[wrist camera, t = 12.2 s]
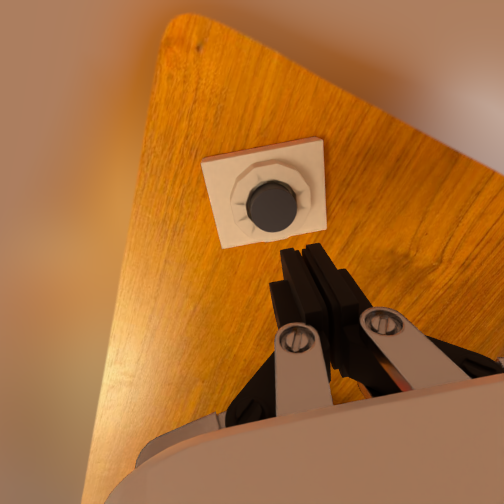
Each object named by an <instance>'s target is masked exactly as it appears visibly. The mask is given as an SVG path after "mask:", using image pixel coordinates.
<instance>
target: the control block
mask: <svg viewBox="0 0 504 504" xmlns="http://www.w3.org/2000/svg"><path fill="white" fill-rule="evenodd" d="M201 167H202V171H203V175H204V179H205V183H206V187H207V191H208V195H209V199H210V203H211V207H212V211H213V215H214V219H215V222H216V226H217V230H218V234H219V238H220V242H221V246H222V249H224V248H230V247H235V246H240V245H246V244H251V243H256V242H262V241H263V242H271V241H277V240H282V239H286V238H288V237H289V236H293V235H299V234H304V233H309V232H315V231H320V230H325V229H327V222H326V198H325V174H324V150H323V140H322V139H320V138H317V137H310V138H305V139H300V140H295V141H289V142H284V143H279V144H274V145H268V146H263V147H258V148H253V149H247V150H242V151H237V152H232V153H227V154H221V155H216V156H211V157H206V158H203V159H202V162H201ZM266 183H278V184H281V185H283V186H285V187H286V188H287V189H288V190H289V192H290V193H291V195H292V196H293V197H294V199H295V201H296V204H297V214H296V217H295V219H294V221H293V222H292V224H291V225H290V226H289V227H287V228H286V229H284V230H282V231H280V232H274V233H271V232H265V231H263V230H261V229H259V228H258V227H257V226H256V225H255V224H254V222H253V220H252V217H251V213H250V208H249V202H250V198H251V195H252V194H253V192H254V191H255V190H256V189H257V188H258V187H259V186H261V185H263V184H266Z"/></svg>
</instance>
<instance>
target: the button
mask: <svg viewBox="0 0 504 504" xmlns="http://www.w3.org/2000/svg"><path fill="white" fill-rule="evenodd" d="M249 208H250V213H251V217H252V220H253V222H254V224H255V225H256V226H257V227H258V228H259V229H261V230H263V231H265V232H271V233H274V232H280V231H282V230H284V229H286V228H287V227H289V226H290V225H291V224H292V222H293V221H294V219H295V217H296V214H297V204H296V201H295V199H294V197H293V196H292V195H291V193H290V192H289V190H288V189H287V188H286V187H285V186H283V185H281V184H278V183H266V184H263V185H261V186H259V187H258V188H257V189H256V190H255V191H254V192H253V194H252V195H251V198H250V202H249Z"/></svg>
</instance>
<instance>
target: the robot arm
mask: <svg viewBox="0 0 504 504" xmlns="http://www.w3.org/2000/svg"><path fill="white" fill-rule="evenodd" d="M280 254H281V262H282V270H283V277H284V280H282V281H276V282H271V283H269V286H270V292H271V298H272V303H273V309H274V313H275V318H276V322H277V326H278V331H277V333H276V335H275V340H274V342H275V351H274V352H273V353H272V354H271V356H270V357H269V358H268V359H267V360H266V362H265V363H264V364H263V365H262V366H261V368H260V369H259V370H258V371H257V372H256V374H255V375H254V376H253V377H252V378H251V380H250V381H249V382H248V383H247V384H246V386H245V387H244V388H243V389H242V390H241V392H240V393H239V394H238V395H237V396H236V398H235V399H234V400H233V401H232V402H231V404H230V406H229V407H228V409H227V410H226V411H224V412H222V413H220V414H216V412H213V413H211V414H209V415H207V416H204V417H202V418H200V419H197V420H195V421H193V422H191V423H188V424H186V425H184V426H182V427H179V428H177V429H175V430H172V431H170V432H168V433H166V434H163V435H161V436H159V437H156V438H155V439H153V440H152V441H150V442H149V443H148V444H147V445H146V446H145V447H144V448H143V449H142V450H141V452H140V454H139V456H138V458H137V460H136V466H135V470H133V471H132V472H131V473H130V474H129V475H127V476H126V477H125V478H124V479H123V480H122V481H121V482H120V483H119V484H118V485H117V486H116V487H115V488H114V490H113V491H112V492H111V493H110V495H109V497H108V498H107V500H106V501H105V503H104V504H504V357H497V359H496V361H493V360H492V359H490V358H488V357H486V356H483V355H481V354H478V353H476V352H473V351H470V350H467V349H464V348H461V347H458V346H455V345H452V344H450V343H447V342H444V341H441V340H438V339H435V338H432V337H429V336H426V335H424V334H423V333H422V332H421V331H419V330H418V329H417V328H416V327H415V326H414V325H413V324H412V323H411V322H410V321H409V320H408V319H407V318H405V317H404V316H403V315H402V314H401V313H399V312H398V311H396V310H393V309H391V308H387V307H373V306H372V305H371V303H370V302H369V300H368V299H367V298H366V296H365V295H364V293H363V292H362V291H361V289H360V288H359V286H358V285H357V284H356V282H355V281H354V279H353V278H352V277H351V275H350V274H349V272H348V271H347V270H346V269H339V270H337V268H336V267H335V265H334V264H333V262H332V261H331V259H330V258H329V256H328V255H327V253H326V252H325V250H324V249H323V247H322V246H321V244H320V243H315V244H310V245H306V249H302V256H301V254H300V252H299V250H296V251H295V250H294V248H289V249H283V250H280ZM330 362H331V364H332V367H333V369H334V370H335V369H339V371H340V374H341V376H342V378H343V377H350V378H352V379H354V380H356V381H357V384H358V387H359V389H360V391H361V392H362V394H363V395H364V397H365V400H360V401H355V402H349V403H344V404H339V405H334V406H333V402H332V397H331V392H330V387H329V383H330V381H331V370H330Z"/></svg>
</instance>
